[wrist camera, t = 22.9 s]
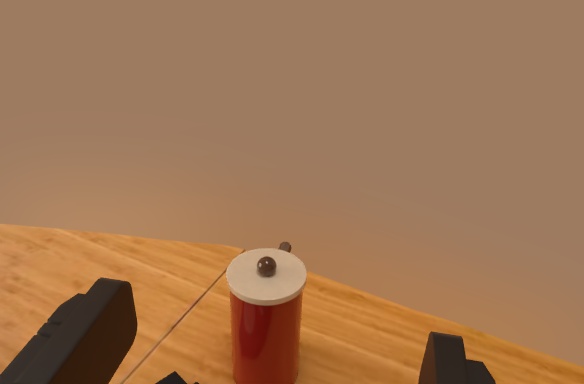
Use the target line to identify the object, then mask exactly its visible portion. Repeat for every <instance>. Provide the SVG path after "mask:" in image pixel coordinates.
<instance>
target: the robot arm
mask: <svg viewBox="0 0 584 384" xmlns="http://www.w3.org/2000/svg"><path fill="white" fill-rule="evenodd" d="M136 332H137V318H136V312H135V305H134V299H133V293H132V287H131V284H130V283H129V282H127V281H121V280H115V279H108V278H100V279H98V280H97V281H96V282H95V283H94V285H93V286H92V287H91V288H90V290H89V291H88V292H87V293H86V294H79V293H78V294H77V295H75V296H74V297H72V298H71V299H69V300H68V301H66V302H64V303H63V304H61V305H60V306H59V307H58V308H57V310H56V311H55V312H54V313H53V314H52V315H51V317H50V318H49V319H48V322H47V323H45V324H44V325H43V326H42V327H41V328H40V329H39V331H38V332H37V335H34V336H33V338H32V339H31V340H30V341H29V342H28V343H27V344H26V346H25V347H24V348H23V349H22V350H21V351H20V353H19V354H18V355H17V356H16V357H15V358H14V360H13V361H12V362H11V363H10V364H9V365H8V367H7V368H6V369H5V370H4V371H3V372H2V374H1V375H0V384H108V383H109V382H110V380H111V378H112V377H113V375H114V374H115V372H116V370H117V369H118V367H119V365H120V364H121V362H122V361H123V359H124V357H125V356H126V354H127V352H128V351H129V349H130V348H131V346H132V344H133V342H134V339H135V336H136ZM418 384H496V383H495V380H494V379H493V377H492V376H491V374H490V373H489V371H488V370H487V368H486V366H485V365H484V363H483V362H479V361H473V360H467V359H466V356H465V350H464V343H463V339H462V337H461V336H456V335H450V334H443V333H437V332H430V334H429V338H428V342H427V346H426V350H425V354H424V358H423V362H422V366H421V371H420V376H419V383H418Z"/></svg>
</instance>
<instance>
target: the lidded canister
mask: <svg viewBox="0 0 584 384" xmlns="http://www.w3.org/2000/svg"><path fill="white" fill-rule="evenodd" d="M290 251H291V245H290V244H289V243H288V242H282V243H281V244H280V246H279V249H271V248H260V249H254V250H250V251H247V252H244V253H242V254H240V255H239V256H237V257H236V258H234V259H233V260H232V261H231V263H230V264H229V266H228V268H227V271H226V282H227V285H228V288H229V289H230V307H231V335H232V362H233V377H234V380H235V382H236V384H294V382H295V381H296V378H297V375H298V361H299V345H300V328H301V312H302V295H303V289H304V287H305V285H306V280H307V271H306V268H305V266H304V264H303V263H302V261H301V260H299V258H297V257H296V256H294V255H292V254H291V253H290Z"/></svg>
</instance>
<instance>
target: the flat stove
mask: <svg viewBox="0 0 584 384" xmlns="http://www.w3.org/2000/svg"><path fill="white" fill-rule="evenodd" d="M156 384H187V383H186V382H185V381H184V380H183V379H182V378H181V377H180V376H179V375H178V374H177V373H176V371H174V372H173V373H171V374H170V375H168V376H167V377H165V378H163V379H162V380H160V381H159V382H157V383H156ZM194 384H199V383H198V382H195V383H194Z"/></svg>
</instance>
